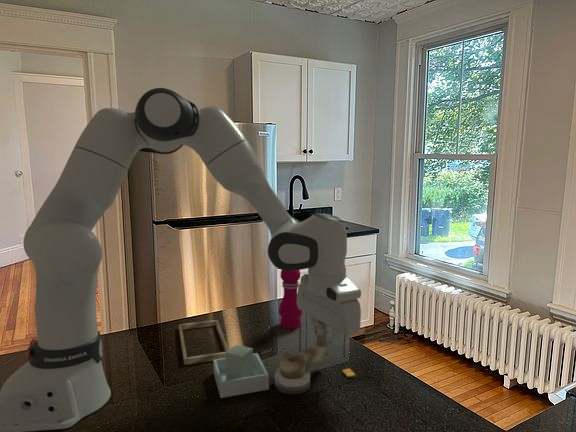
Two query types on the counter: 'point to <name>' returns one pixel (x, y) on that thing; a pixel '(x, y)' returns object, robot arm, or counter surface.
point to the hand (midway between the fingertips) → (325, 338)
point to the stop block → (239, 362)
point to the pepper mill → (290, 300)
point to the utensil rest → (202, 357)
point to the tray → (241, 379)
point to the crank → (305, 355)
